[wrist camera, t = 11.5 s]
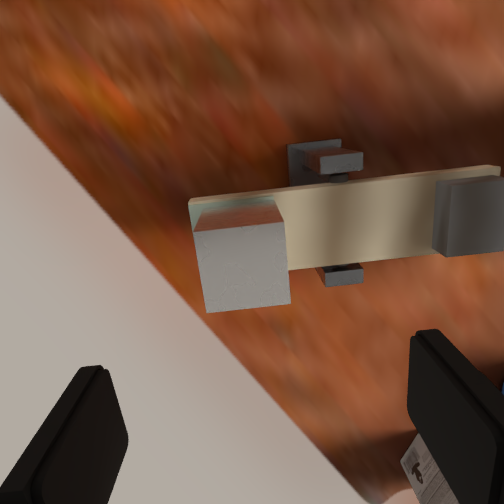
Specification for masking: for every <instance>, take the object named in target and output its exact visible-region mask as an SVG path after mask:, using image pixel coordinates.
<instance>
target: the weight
mask: <svg viewBox="0 0 504 504" xmlns="http://www.w3.org/2000/svg"><path fill="white" fill-rule="evenodd" d="M193 237H194V243H195V248H196V254H197V260H198V266H199V272H200V277H201V283H202V289H203V295H204V301H205V306H206V312H207V313H212V312H221V311H230V310H239V309H248V308H257V307H266V306H275V305H284V304H291V299H290V286H289V274H288V262H287V249H286V237H285V225H284V220H283V218H282V216H281V214H280V211H279V209H278V207H277V205H276V202H275V200H271V201H262V202H253V203H244V204H236V205H227V206H218V207H209V208H203V211H202V213H201V215H200V217H199V219H198V222H197V224H196V226H195V228H194V231H193Z"/></svg>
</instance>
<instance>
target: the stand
mask: <svg viewBox="0 0 504 504" xmlns="http://www.w3.org/2000/svg"><path fill="white" fill-rule="evenodd" d="M286 148H287V162H288V176H289V187H295V186H303V185H312V184H321V183H329V175H330V174H336V173H342V172H348V171H357V170H363V152H359V151H354V150H350V149H345V148H341V139H339V138H338V139H329V140H320V141H312V142H303V143H294V144H286ZM315 269H316V271H317V273H318V274H319V276H320V278H321V280H322V282H323V283H324V285H325V287H332V286H340V285H349V284H357V283H363V268H362V267H361V266H360V264H359V263H349V264H348V265H346V266H335V265H331V266H322V267H315Z"/></svg>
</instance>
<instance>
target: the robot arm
mask: <svg viewBox="0 0 504 504" xmlns="http://www.w3.org/2000/svg"><path fill="white" fill-rule="evenodd" d="M407 410H408V414H409V416H410V418H411V420H412V422H413V424H414V426H415V427H416V429H417V431H418V433H419V434H420V436H421V438H422V439H423V441H424V443H425V445H426V446H427V448H428V450H429V452H430V453H431V455H432V457H433V459H434V460H435V462H436V464H437V466H438V467H439V469H440V471H441V473H442V474H443V476H444V478H445V480H446V481H447V483H448V485H449V487H450V488H451V490H452V492H453V493H454V495H455V497H456V499H457V500H458V502H459V504H504V395H503V394H502V393H501V392H500V391H499V390H498V389H497V387H496V386H495V385H494V384H493V383H492V382H491V381H490V380H489V379H488V378H487V377H486V376H485V375H484V374H482V373H481V372H480V371H478V370H477V369H476V368H475V367H474V366H473V365H472V364H471V363H470V362H469V361H468V360H467V359H466V358H465V356H464V355H463V354H462V353H461V352H460V351H459V350H458V349H457V348H456V347H455V346H454V345H453V344H452V343H451V342H450V341H449V340H448V339H447V338H446V337H445V336H444V335H443V334H442V333H441V331H439V330H438V329H429V330H420V331H417V332H416V334H415V336H412V337H411V339H410V355H409V375H408V395H407ZM127 447H128V433H127V430H126V427H125V423H124V420H123V416H122V413H121V410H120V406H119V403H118V399H117V396H116V393H115V390H114V386H113V382H112V379H111V376H110V373H109V371H108V370H107V369H104V368H103V367H102V366H101V365H96V366H86V367H81V368H80V369H79V370H78V371H77V373H76V374H75V376H74V377H73V379H72V381H71V382H70V383H69V385H68V386H67V388H66V389H65V391H64V392H63V394H62V395H61V397H60V398H59V400H58V401H57V403H56V404H55V406H54V408H53V409H52V410H51V412H50V413H49V415H48V416H47V418H46V419H45V421H44V422H43V424H42V425H41V427H40V429H39V430H38V431H37V433H36V434H35V436H34V437H33V439H32V440H31V442H30V443H29V445H28V446H27V448H26V449H25V451H24V452H23V454H22V455H21V457H20V458H19V460H18V461H17V463H16V464H15V466H14V467H13V469H12V470H11V472H10V473H9V475H8V476H7V478H6V479H5V481H4V482H3V484H2V485H1V487H0V504H107V503H108V501H109V498H110V495H111V493H112V490H113V487H114V484H115V481H116V478H117V476H118V473H119V470H120V467H121V464H122V462H123V459H124V456H125V453H126V450H127Z"/></svg>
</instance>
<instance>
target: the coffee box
mask: <svg viewBox="0 0 504 504" xmlns="http://www.w3.org/2000/svg"><path fill="white" fill-rule="evenodd" d="M400 463H401V465H402V467H403V469H404V471H405V473H406V475H407V477H408V480H409V482H410V484H411V486H412V488H413V490H414V492H415V494H416V496H417V498H418V500H419V503H420V504H459V502H458V500H457V499H456V497H455V495H454V493H453V492H452V490H451V488H450V487H449V485H448V483H447V481H446V480H445V478H444V476H443V474H442V473H441V471H440V469H439V467H438V466H437V464H436V462H435V460H434V459H433V457H432V455H431V453H430V452H429V450H428V448H427V446H426V445H425V443H424V441H423V439H422V438H421V436H420V434H419V433H418V434H417V436H416V437H415V439H414V440H413V442H412V444H411V445H410V447H409V448H408V450H407V451H406V453H405V454H404V456H403V457H402V459H401V460H400Z"/></svg>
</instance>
